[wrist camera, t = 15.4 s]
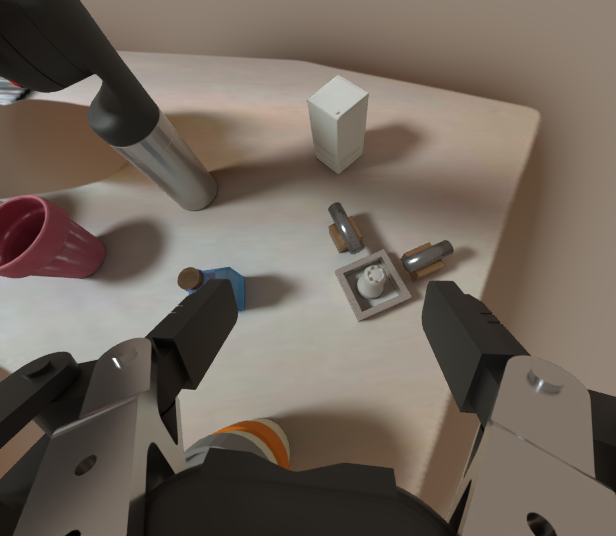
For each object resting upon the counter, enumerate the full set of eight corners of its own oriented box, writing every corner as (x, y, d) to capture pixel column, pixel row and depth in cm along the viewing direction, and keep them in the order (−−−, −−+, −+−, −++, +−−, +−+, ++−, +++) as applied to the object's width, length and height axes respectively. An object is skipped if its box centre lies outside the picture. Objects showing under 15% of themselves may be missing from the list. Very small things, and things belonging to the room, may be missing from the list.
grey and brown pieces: (313, 228, 45) (310, 213, 40) (394, 192, 45) (401, 173, 40) (358, 321, 39) (360, 318, 34) (452, 280, 39) (469, 270, 34)
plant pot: (95, 217, 54) (23, 180, 42) (129, 249, 49) (61, 219, 37) (45, 265, 51) (-46, 241, 39) (77, 304, 47) (-14, 290, 35)
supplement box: (364, 154, 49) (371, 92, 37) (337, 176, 48) (336, 120, 36) (339, 135, 51) (338, 72, 39) (314, 156, 50) (305, 98, 39)
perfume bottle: (244, 277, 44) (210, 253, 33) (244, 310, 42) (209, 297, 31) (212, 281, 45) (169, 260, 33) (211, 314, 43) (165, 303, 31)
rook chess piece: (363, 304, 40) (368, 294, 32) (351, 280, 41) (353, 266, 33) (387, 293, 39) (398, 281, 32) (375, 270, 41) (382, 253, 33)
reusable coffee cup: (252, 529, 32) (182, 674, 18) (205, 444, 36) (118, 508, 22) (320, 461, 34) (304, 547, 19) (267, 386, 38) (223, 412, 23)
